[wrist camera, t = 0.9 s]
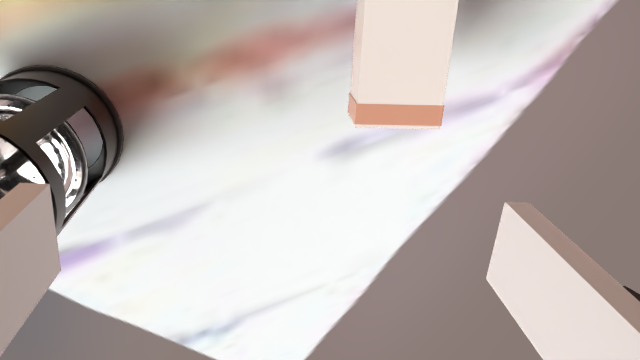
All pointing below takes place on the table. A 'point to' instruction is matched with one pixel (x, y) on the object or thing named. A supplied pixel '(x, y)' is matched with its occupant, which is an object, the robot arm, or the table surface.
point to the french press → (54, 137)
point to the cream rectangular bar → (401, 63)
